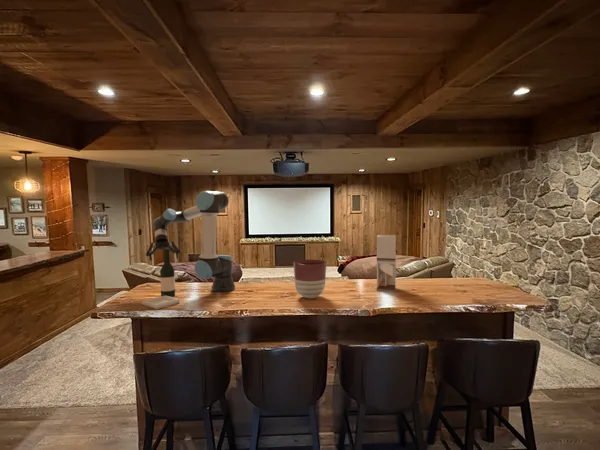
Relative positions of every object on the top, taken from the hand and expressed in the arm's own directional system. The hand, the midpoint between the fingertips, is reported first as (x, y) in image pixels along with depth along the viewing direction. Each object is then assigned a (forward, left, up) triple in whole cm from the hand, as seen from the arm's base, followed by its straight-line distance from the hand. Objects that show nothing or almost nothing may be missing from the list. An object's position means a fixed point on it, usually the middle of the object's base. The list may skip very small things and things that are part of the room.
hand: (164, 263), depth 209 cm
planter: (-45, +79, -20) cm, 94 cm away
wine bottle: (+2, +5, -20) cm, 21 cm away
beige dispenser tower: (-89, +109, -20) cm, 143 cm away
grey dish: (+14, +17, -20) cm, 30 cm away
